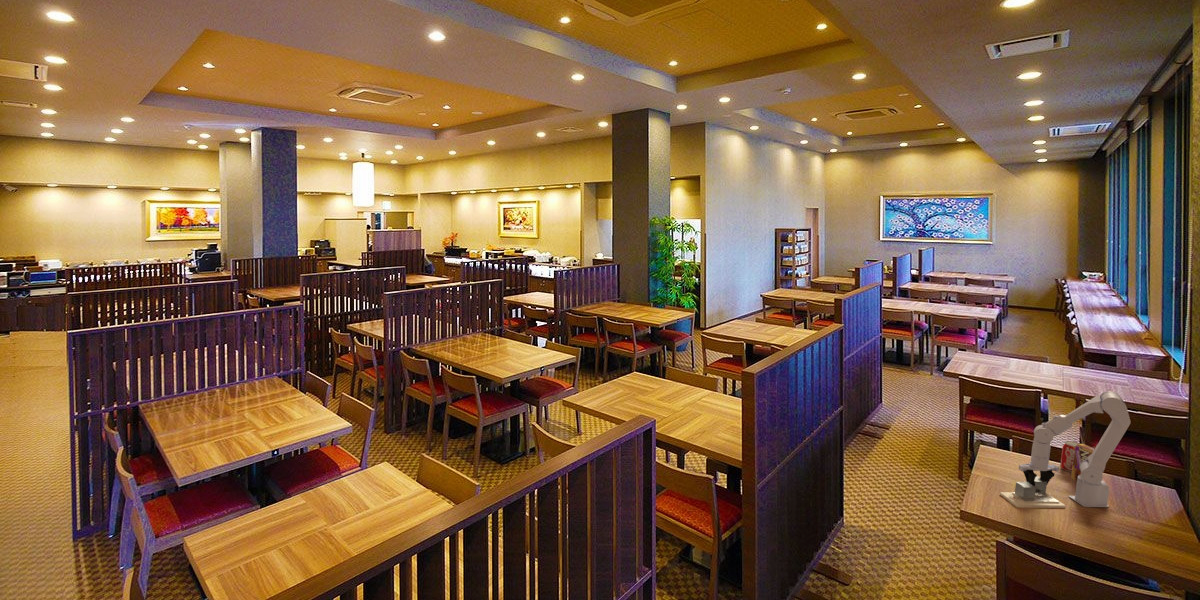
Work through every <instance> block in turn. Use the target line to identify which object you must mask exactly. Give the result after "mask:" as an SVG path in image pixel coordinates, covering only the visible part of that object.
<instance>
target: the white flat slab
mask: <svg viewBox="0 0 1200 600" xmlns="http://www.w3.org/2000/svg"><path fill="white" fill-rule="evenodd" d="M1011 492H1012V494H1013V495H1015V496H1016V497H1018V496H1017V495H1016V494H1015V491H1011ZM1050 495H1051V494H1049V493H1048V494H1047V491H1046V492H1035V499H1024V500H1023V499H1021V498H1020V497H1018V498H1019V499H1020V500H1022V501H1023V502H1024V503H1059V502H1060V500H1058V499H1056V498H1055V497H1054V498H1053V496H1052V495H1051V496H1050Z"/></svg>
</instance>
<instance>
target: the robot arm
mask: <svg viewBox="0 0 1200 600" xmlns="http://www.w3.org/2000/svg"><path fill="white" fill-rule="evenodd" d="M1104 412H1105V413H1106V414H1108V415H1109V417H1110V418H1111V421H1110V423H1109V425H1108V427H1106V430H1105V431H1104V433H1103V435H1102V436H1101V438H1100V440H1099V442H1098V443H1097V444H1096V446H1095V449H1094V451H1093V453H1092V454H1091V455H1089V456H1088V458H1087V459H1086V460H1084V461H1082V462H1081V463H1080V466H1079V467H1080V470H1081V474H1080V475H1079V476H1078V479H1077V481H1076V487H1075V494H1074V495H1068V497H1069V499H1071V500H1072V501H1074V502H1076V503H1078V504H1079V505H1080V506H1082V507H1084V508H1109V507H1110V505H1108V504H1109V503H1108V502H1109V496H1110V488H1109V485H1108V483H1107V482H1106V481H1104V480H1103V478H1104V477H1103V473H1104V471H1105V469H1106V465H1107V462H1108V461H1109V459H1110V458H1111V456H1112V455H1113V453H1114V451H1115V449H1116V448H1117V446H1118V444H1119V443H1120V441H1121V440H1122V438H1123V436H1124V435H1125V433H1126V432H1127V430H1128V428H1129V426H1130V425H1131V419H1130V418H1131V417H1130V414H1129V411H1128V406H1126V403H1125V401H1124V400H1123V398H1122V396H1120V394H1119V393H1117V392H1115V391H1109V390H1107V391H1105V392H1102V393H1101V394H1098V395H1096V396H1094V397H1092V398H1090V400H1088V401H1086V402H1085V403H1083V404H1082V405H1080V406H1078V407H1077V408H1075V409H1073V410H1072V411H1071V412H1069V413H1067V414H1065V415H1064V414H1059V415H1056V414H1055V415H1053V416H1052V419H1050V420H1048V421H1046V422H1042V423H1041V424H1039V425H1037V426H1036V427H1035V428H1034V429H1033V435H1034V438H1033V442H1032V446H1031V453H1030V454H1031V456H1030V461H1029V463H1023V464H1019V465H1018V470H1019V471H1021V472H1022V473H1023V474H1024V477H1025V482H1029V483H1030V484H1032V485H1033V484H1034V480H1035V477H1038V475H1037V474H1036V473H1035V471H1036V472H1037V471H1038V472H1039V474H1040V475H1039V477H1040V478H1042V479H1044V480H1045V481H1047V485H1048V484H1049V482H1051V479H1053V477H1055V475H1056V474H1055V472H1059V471H1060V467H1059V466H1058V465H1056V464H1049V463H1050V455H1051V454H1050V453H1051V447H1052V446H1051V442H1052V441H1053V440H1054V437H1058V436H1059V435H1061V434H1062V433H1064V432H1066V431H1067V430H1070V429H1071V428H1072V427H1073V423H1074V422H1077V421H1079V420H1081V419H1083V418H1084V417H1087V416H1089V415H1091V414H1094V413H1096V414H1104Z"/></svg>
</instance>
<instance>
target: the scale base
mask: <svg viewBox="0 0 1200 600" xmlns="http://www.w3.org/2000/svg"><path fill="white" fill-rule="evenodd" d="M1012 492H1013V491H1011V492H1010V491H1009V492H1008V491H1007V492H1006V491H1005V492H1004V491H1001V492H999V495H1000V496H1001V497H1002V498H1004V499H1005V500H1007V501H1008V502H1009V503H1010V504H1012V505H1013V506H1014V507H1016V508H1024V509H1025V508H1032V509H1033V508H1035V509H1037V508H1038V509H1040V508H1041V509H1044V508H1045V509H1065V508H1066V505H1065V504H1064V503H1062V502H1061V501H1059V503H1024V502H1023V501H1022V500H1020V499H1019V498H1018V497H1016V496H1015V495H1013V494H1012ZM1046 493H1047V492H1046ZM1047 494H1049V493H1047ZM1049 495H1050V496H1052V495H1051V494H1049ZM1052 497H1053V496H1052ZM1053 498H1055V497H1053Z"/></svg>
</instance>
